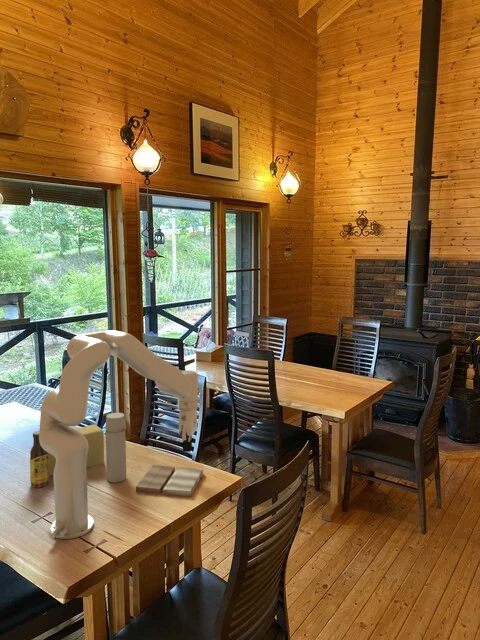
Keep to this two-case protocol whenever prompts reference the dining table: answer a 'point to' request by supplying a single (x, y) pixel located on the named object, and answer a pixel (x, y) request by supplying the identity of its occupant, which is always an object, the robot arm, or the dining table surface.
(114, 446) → the water bottle
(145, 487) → the laid board
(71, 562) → the dining table surface
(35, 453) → the sauce bottle
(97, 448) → the cheese
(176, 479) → the board
